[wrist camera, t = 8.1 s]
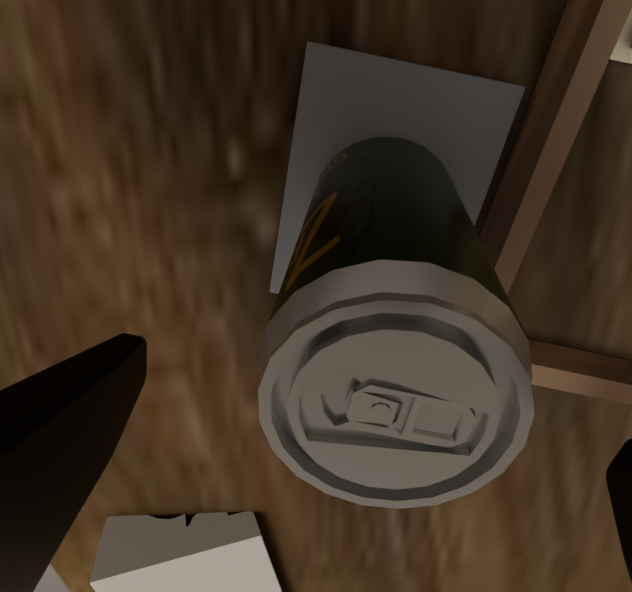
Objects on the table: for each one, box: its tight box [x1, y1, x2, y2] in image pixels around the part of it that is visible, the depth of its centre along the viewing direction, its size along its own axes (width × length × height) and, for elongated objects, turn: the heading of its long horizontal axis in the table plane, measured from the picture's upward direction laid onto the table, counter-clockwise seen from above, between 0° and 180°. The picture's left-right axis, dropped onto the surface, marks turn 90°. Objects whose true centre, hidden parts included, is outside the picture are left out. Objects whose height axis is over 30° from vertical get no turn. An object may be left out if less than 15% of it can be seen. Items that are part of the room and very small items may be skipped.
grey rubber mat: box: [269, 41, 525, 294], centre depth 20 cm, size 8×10×1 cm
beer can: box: [257, 137, 535, 509], centre depth 14 cm, size 5×5×12 cm
